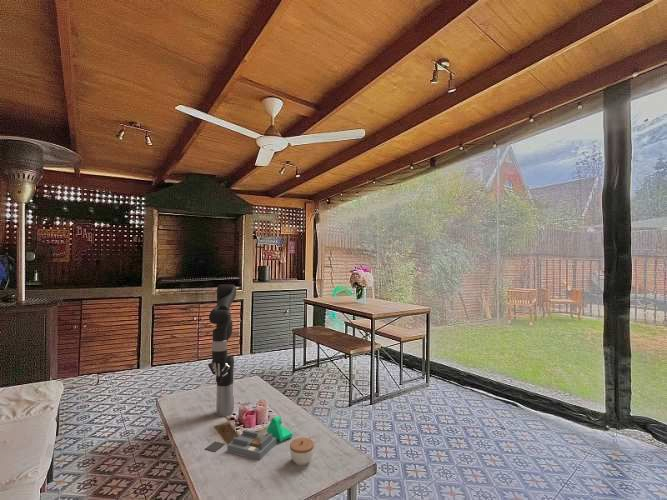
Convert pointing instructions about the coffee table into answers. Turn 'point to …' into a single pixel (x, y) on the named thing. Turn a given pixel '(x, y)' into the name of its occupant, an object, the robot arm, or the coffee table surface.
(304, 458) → the lidded jar
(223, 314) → the robot arm
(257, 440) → the block
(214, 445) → the mat
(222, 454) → the coffee table surface
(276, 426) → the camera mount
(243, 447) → the rail board
